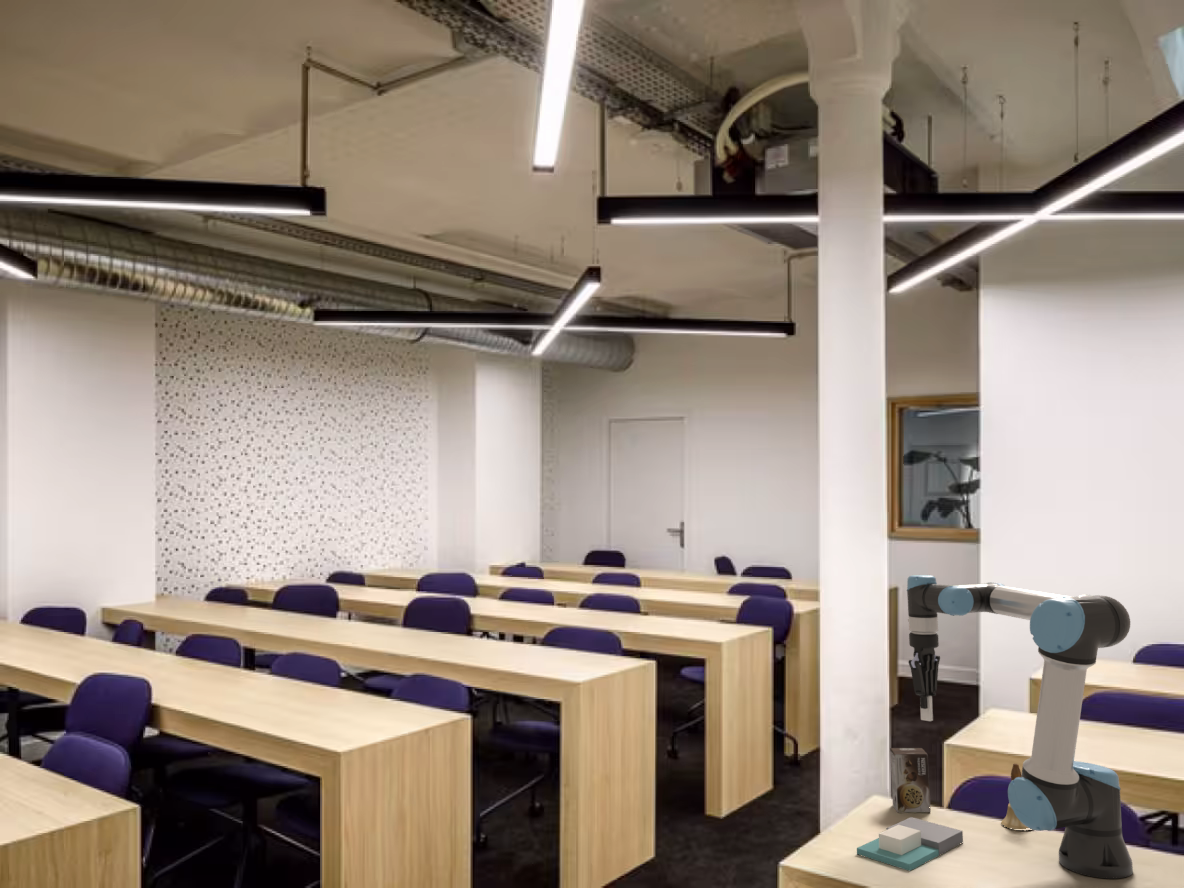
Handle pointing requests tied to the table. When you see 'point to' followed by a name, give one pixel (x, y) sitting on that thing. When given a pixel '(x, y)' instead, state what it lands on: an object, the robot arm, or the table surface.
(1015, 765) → the hand bell
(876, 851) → the mat
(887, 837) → the white rectangular block
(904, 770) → the coffee box
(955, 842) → the plate
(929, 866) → the table surface
